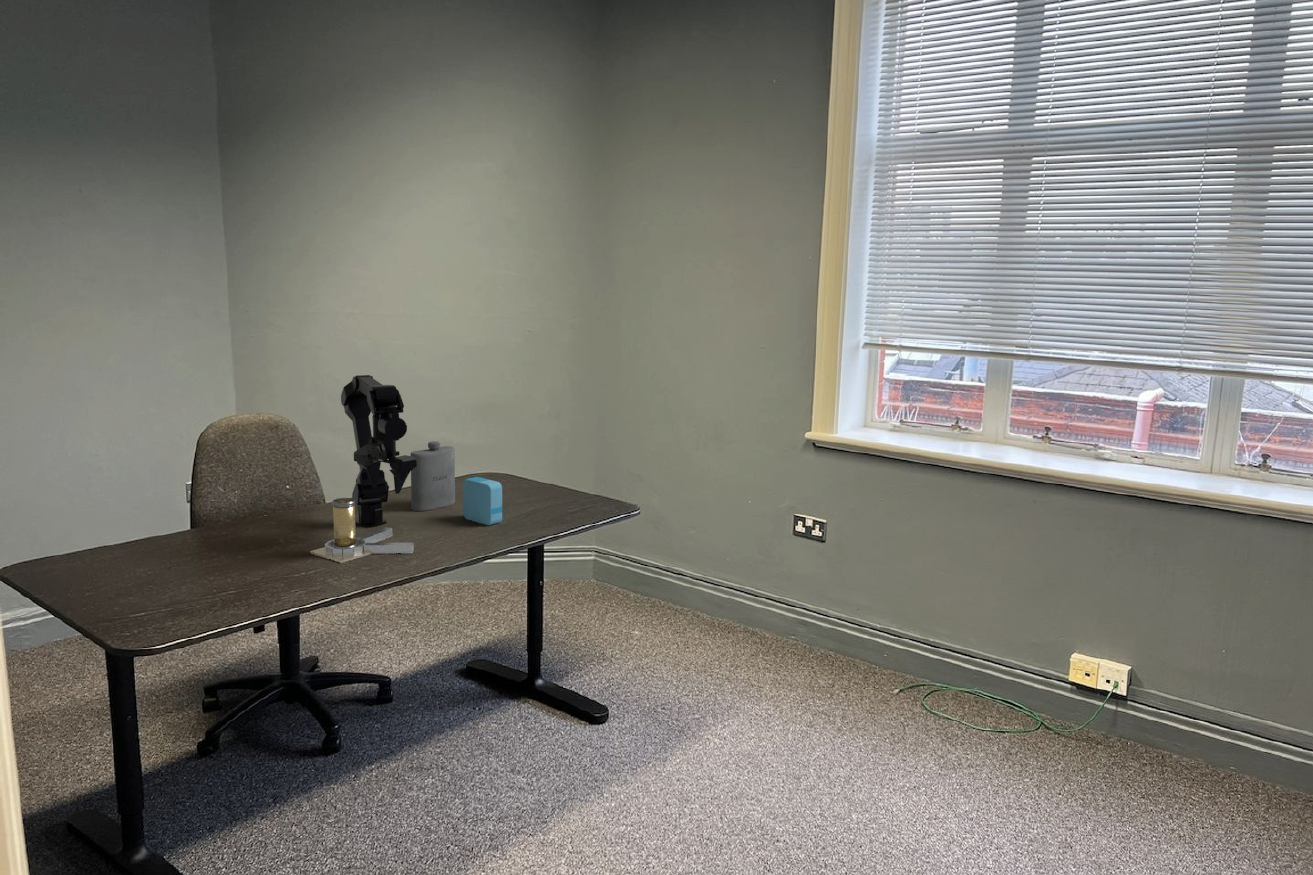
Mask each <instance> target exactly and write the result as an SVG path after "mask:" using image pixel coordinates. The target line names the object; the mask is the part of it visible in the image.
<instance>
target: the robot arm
mask: <svg viewBox="0 0 1313 875" xmlns="http://www.w3.org/2000/svg"><path fill="white" fill-rule="evenodd" d="M340 394H341V395H340V403H341V406H342V407H343V409H344V413H345V415H346V416H347V417H348V418H349V420H351V422H352V427H353V434H354V440H355V448H356V450H355V451H354V452H353V461H354V462H356V463H357V465H359V472H358V474H357V476H356V478H355V484H354V487H353V491H352V494H351V498H353V499H355V506H358V507H357V508H358V520H355V525H358V526H362V527H366V528H371V527H376V526H380V525H383V524H387V520H384V519H383V517H384V514H383V511H384V510H383V503H388V499H389V490H390V486H389V485H388V481H387V480H386V476H385V472H384V470H383V469H381V465H382V463H384V464H388V465H389V467H390V469H389V472H390V473H391V474H392V476H393V484H394V487H393V488H394V493H395V494H396V495H397V494H400V492H401V491H402V489H403V487H404V485H405V482H406V480H407V478H408V476H409V474H411V470H413V469H414V468H415V467H417V459H416V458H415V457H412V456H411V455H406V454H404V455H400V451H398V450H397V447H396V446H397V441H400V439H402V438H403V437H404V436H405V435H406V433H407V432H408V426H407V422H406V421H405V420H404V419H403V418H401V417H400V413H401V414H402V413H403V414H404V408H405V405H404V402H403V399H402V395H401V393H400V391H399V389H397V387H396V385H393V384H382V383H381V382H379V381H378V380H376V379H374V377H373V375H371V374H368V375H367V374H364V375H362V374H361V375H357V374H356V375H355V376H353V377H352V380H351V381H349V383H347V384H346V385H345V386H343V388H342V391H341V393H340ZM371 414H372V428H371V422H370V415H371ZM371 429H372V430H371Z"/></svg>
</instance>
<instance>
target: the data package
mask: <svg viewBox="0 0 1313 875" xmlns="http://www.w3.org/2000/svg"><path fill="white" fill-rule="evenodd" d="M462 503H463V504H462V506H463V507H462V509H463V511H462V512H463V513H462V514H463V516H464V517H463V518H465V519H466V520H467V521H471V520H472V522H474V521H475V522H476V523H478V524H481V525H486V526H491V525H495V524H499V523H501V522H502V520H503V486H502V484H501V483H500V482H499V481H496V480H491V479H488V478H484V477H479V476H474V477H471V478H465V479H463V481H462Z"/></svg>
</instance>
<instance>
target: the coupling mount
mask: <svg viewBox="0 0 1313 875" xmlns="http://www.w3.org/2000/svg"><path fill="white" fill-rule="evenodd" d="M393 535H394V534H393V528H392V527H388V526H387V527H386V526H385V527H383V528H380V529H377V530H375V531H372V532H369V533H366V534H364V535H361V536H359V537H356V544H357V546H355V547H351V548H334V539H331V540H328V541H327V542H326V543H324V547H320V548H317V549H313V550H310V551H309V554H310V553H311V554H310V555H313V554H314V556H317V557H320V558H323V559H327V560H329V559H331V560H330V561H333V560H334V561H333V562H337V563H340V564H343V563H346V562H350V561H352V560H355V559H360V558H363V557H366V556H369V555H372V554H375V555H377V554H378V555H380V554H381V555H382V554H386V555H390V554H396V553H397V555H398V553H401V554H413V552H414V542H381V541H384V540H387V539H389V538H392V537H393ZM386 538H387V539H386ZM349 560H350V561H349Z"/></svg>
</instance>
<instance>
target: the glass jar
mask: <svg viewBox="0 0 1313 875" xmlns="http://www.w3.org/2000/svg"><path fill="white" fill-rule="evenodd" d="M332 512H333V513H332V514H333V517H332V518H333V540H334V548H351V547H355V546H357V544H356V538H357V536H356V535H357V534H356V532H357V530H356V524H355V521H356V504H355V499H353V498H352V497H341V498H340V497H339V498H335V499H333V500H332Z"/></svg>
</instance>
